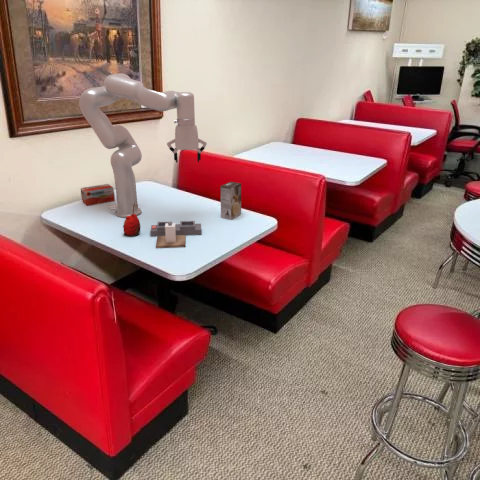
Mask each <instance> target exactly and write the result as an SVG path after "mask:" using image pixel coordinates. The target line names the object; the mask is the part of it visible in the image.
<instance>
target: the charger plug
mask: <svg viewBox="0 0 480 480" xmlns="http://www.w3.org/2000/svg"><path fill="white" fill-rule="evenodd" d="M167 222H168V223H166V224H165V235H166V242H176V228H175V224H176V222H173V221H167Z"/></svg>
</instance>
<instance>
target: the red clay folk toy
mask: <svg viewBox="0 0 480 480" xmlns="http://www.w3.org/2000/svg"><path fill="white" fill-rule="evenodd" d="M131 205H132V204H131ZM134 206H138V207H139V205H135V203H134V205H133V210H132V211H133V213H132V215H130V216H127V217H125V219H124V221H123V225H122V228H123V234H124V236H128V237H134V236H137V235H140V232H141V223H140V219H139V218H138V215H137V216H136V214H134Z"/></svg>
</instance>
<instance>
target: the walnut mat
mask: <svg viewBox="0 0 480 480" xmlns="http://www.w3.org/2000/svg"><path fill="white" fill-rule="evenodd" d="M186 236H187V235H176V242H166V236H156V242H155V249H166V248H167V249H168V248H169V249H170V248H186Z"/></svg>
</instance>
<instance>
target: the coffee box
mask: <svg viewBox="0 0 480 480" xmlns="http://www.w3.org/2000/svg"><path fill="white" fill-rule="evenodd" d="M219 189H220V218H221V219H225V220H229V221H232V220H234V219H236V218H238V217H239V216H241V215H242V183H241V182H234V181H229V182H227V183H225V184H221V185H220V187H219Z"/></svg>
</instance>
